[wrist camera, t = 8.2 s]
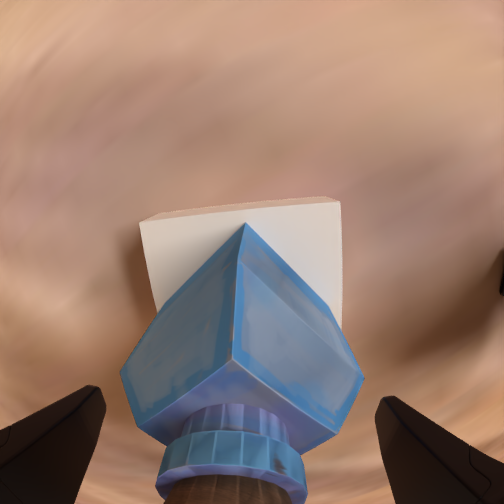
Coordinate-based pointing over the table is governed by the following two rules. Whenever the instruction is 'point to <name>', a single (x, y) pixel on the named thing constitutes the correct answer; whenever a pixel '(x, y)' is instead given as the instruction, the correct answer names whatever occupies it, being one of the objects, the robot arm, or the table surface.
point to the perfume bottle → (240, 379)
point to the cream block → (265, 225)
